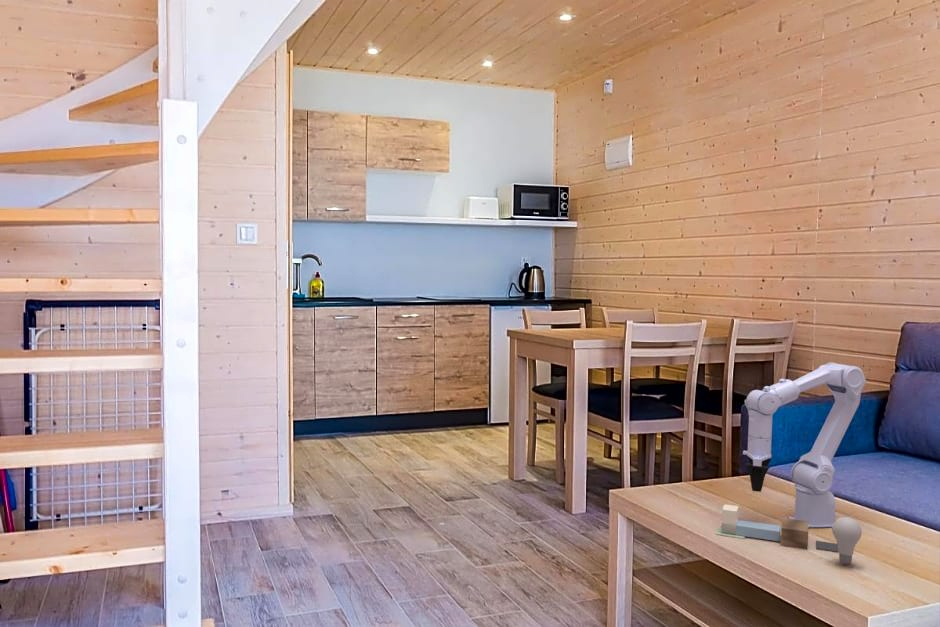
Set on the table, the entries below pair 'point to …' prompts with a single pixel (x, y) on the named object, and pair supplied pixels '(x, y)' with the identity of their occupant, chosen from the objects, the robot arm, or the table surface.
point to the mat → (718, 532)
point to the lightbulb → (846, 537)
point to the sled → (747, 526)
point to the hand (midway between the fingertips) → (757, 487)
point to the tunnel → (794, 533)
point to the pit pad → (827, 546)
